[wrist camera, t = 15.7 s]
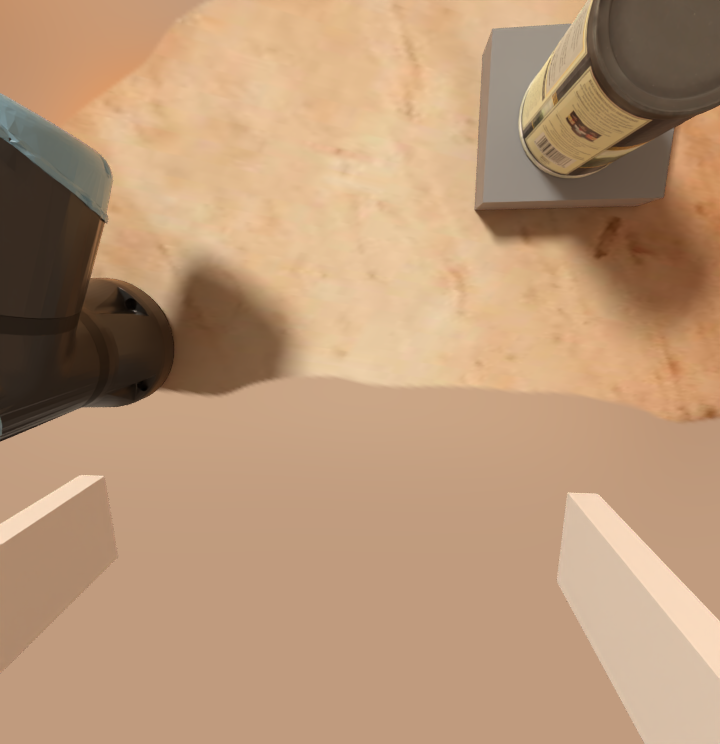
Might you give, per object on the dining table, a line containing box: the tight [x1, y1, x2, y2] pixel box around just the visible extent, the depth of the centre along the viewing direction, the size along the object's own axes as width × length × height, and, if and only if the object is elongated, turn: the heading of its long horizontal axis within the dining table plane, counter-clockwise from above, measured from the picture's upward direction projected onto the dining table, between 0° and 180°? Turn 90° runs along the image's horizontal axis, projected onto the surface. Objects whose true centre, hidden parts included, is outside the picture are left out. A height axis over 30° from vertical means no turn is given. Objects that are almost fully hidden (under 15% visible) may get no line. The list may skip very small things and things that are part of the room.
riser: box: [475, 24, 674, 210], centre depth 37 cm, size 16×14×4 cm
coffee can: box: [519, 0, 720, 178], centre depth 28 cm, size 10×10×14 cm
